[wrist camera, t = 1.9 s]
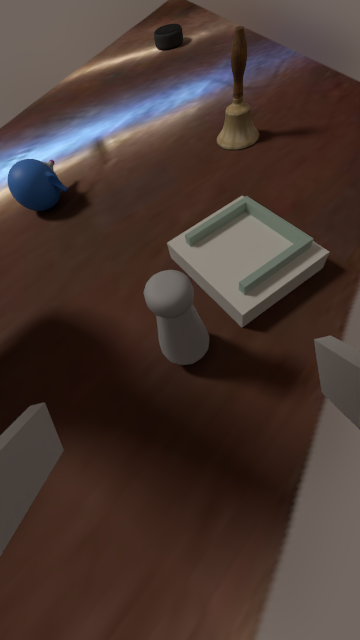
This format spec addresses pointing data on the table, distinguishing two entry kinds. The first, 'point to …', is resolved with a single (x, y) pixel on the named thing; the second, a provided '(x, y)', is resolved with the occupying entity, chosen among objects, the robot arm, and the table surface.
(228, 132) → the hand bell
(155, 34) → the smart speaker
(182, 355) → the salt shaker
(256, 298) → the dock
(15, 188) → the blue rounded piece
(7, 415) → the table surface
